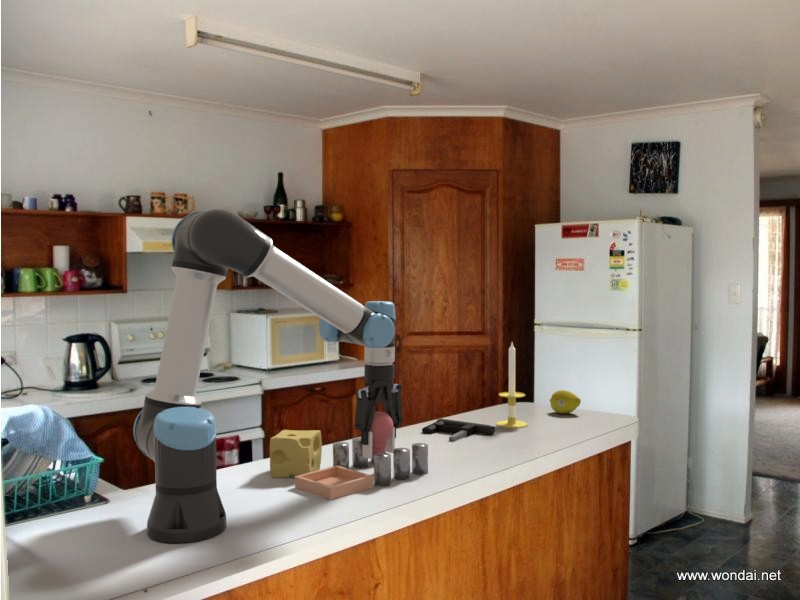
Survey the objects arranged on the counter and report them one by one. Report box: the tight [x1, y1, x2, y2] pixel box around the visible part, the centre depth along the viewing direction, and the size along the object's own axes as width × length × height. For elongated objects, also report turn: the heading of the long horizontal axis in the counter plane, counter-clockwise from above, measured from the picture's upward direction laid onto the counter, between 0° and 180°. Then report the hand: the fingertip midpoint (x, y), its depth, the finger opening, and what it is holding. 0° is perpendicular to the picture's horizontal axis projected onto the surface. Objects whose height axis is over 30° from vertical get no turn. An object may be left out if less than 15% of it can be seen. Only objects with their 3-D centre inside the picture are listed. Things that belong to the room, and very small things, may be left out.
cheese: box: [269, 429, 323, 479], centre depth 187 cm, size 10×11×10 cm
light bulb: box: [365, 410, 393, 458], centre depth 187 cm, size 7×7×12 cm
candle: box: [495, 342, 528, 429], centre depth 239 cm, size 10×10×27 cm
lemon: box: [549, 389, 582, 415], centre depth 256 cm, size 11×8×8 cm
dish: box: [294, 465, 374, 501], centre depth 175 cm, size 13×13×3 cm
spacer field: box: [332, 437, 429, 488], centre depth 187 cm, size 17×19×7 cm
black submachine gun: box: [421, 418, 496, 442], centre depth 227 cm, size 3×20×16 cm
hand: (378, 454), depth 187 cm, fingers closed on light bulb, 7 cm apart
